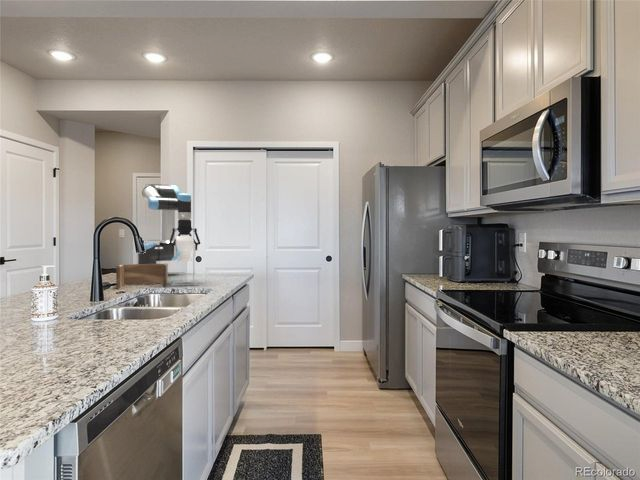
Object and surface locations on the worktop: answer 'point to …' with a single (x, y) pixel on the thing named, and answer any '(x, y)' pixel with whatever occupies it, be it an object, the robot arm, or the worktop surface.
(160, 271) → the crate
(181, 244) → the cup
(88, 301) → the worktop surface
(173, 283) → the mat
